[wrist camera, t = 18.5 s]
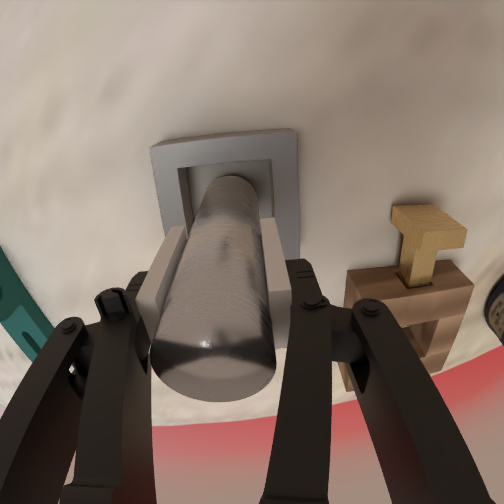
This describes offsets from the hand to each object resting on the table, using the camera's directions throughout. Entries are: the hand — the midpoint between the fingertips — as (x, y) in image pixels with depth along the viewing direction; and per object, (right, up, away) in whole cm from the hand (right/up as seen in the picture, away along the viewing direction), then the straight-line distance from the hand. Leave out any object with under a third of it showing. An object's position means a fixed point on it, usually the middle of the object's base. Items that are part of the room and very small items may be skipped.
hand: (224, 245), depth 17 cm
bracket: (-27, -8, +14) cm, 31 cm away
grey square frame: (0, +4, +8) cm, 9 cm away
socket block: (+17, -7, +14) cm, 23 cm away
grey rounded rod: (0, +4, +7) cm, 8 cm away
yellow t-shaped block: (+16, 0, +10) cm, 19 cm away
